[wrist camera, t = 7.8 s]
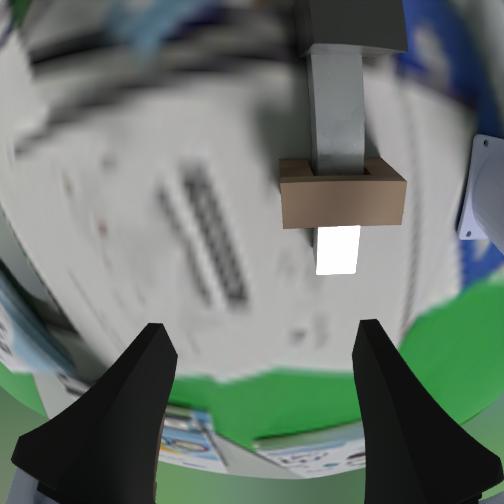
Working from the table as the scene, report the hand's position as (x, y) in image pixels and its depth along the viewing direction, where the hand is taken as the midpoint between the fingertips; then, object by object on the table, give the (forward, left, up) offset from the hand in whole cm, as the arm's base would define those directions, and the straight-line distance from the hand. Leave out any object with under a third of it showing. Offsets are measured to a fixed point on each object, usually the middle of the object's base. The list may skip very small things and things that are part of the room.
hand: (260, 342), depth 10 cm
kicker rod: (-4, -7, -10) cm, 13 cm away
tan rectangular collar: (-4, -3, -10) cm, 11 cm away
